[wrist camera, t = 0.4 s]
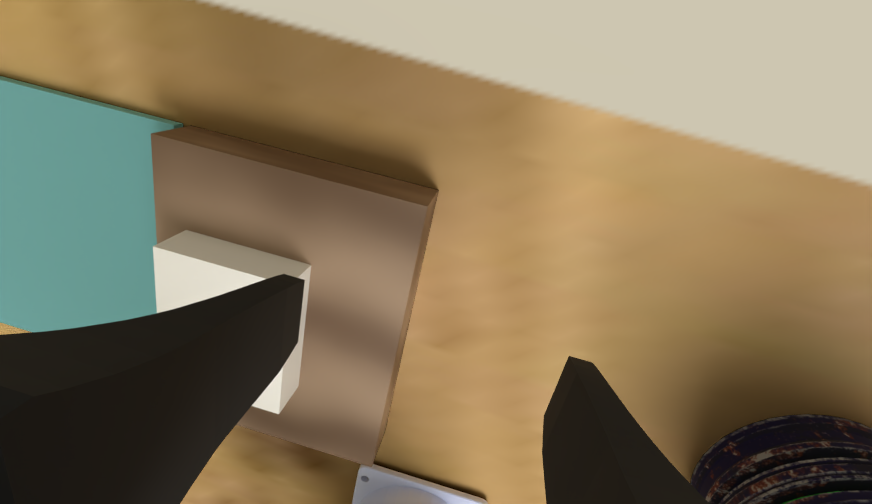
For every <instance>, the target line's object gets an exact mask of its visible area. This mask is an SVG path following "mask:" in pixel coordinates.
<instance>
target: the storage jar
mask: <svg viewBox="0 0 872 504" xmlns="http://www.w3.org/2000/svg"><path fill="white" fill-rule="evenodd" d="M691 485H692V486H693V487H694V488H695V489H696V490H697V491H698V492H699V493H700V494H701V495H702V496H703V497H704V498H705V499H706V500H707V501H708V502H709V503H710V504H872V428H869V427H867V426H865V425H863V424H860V423H857V422H854V421H850V420H847V419H844V418H838V417H832V416H826V415H808V414H806V415H788V416H782V417H776V418H770V419H766V420H763V421H759V422H755V423H752V424H750V425H747V426H745V427H742V428H740V429H737V430H736V431H734V432H732V433H730V434H728V435H727V436H725V437H723V438H722V439H721V440H719V441H718V442H717V443H715V444H714V445H713V446H712V447H711V448H710V449H709V450H708V451H707V452H706V453H705V454H704V455H703V456H702V458H701V459H700V461H699V462H698V464H697V465H696V467H695V470H694V472H693V474H692V478H691Z"/></svg>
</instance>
